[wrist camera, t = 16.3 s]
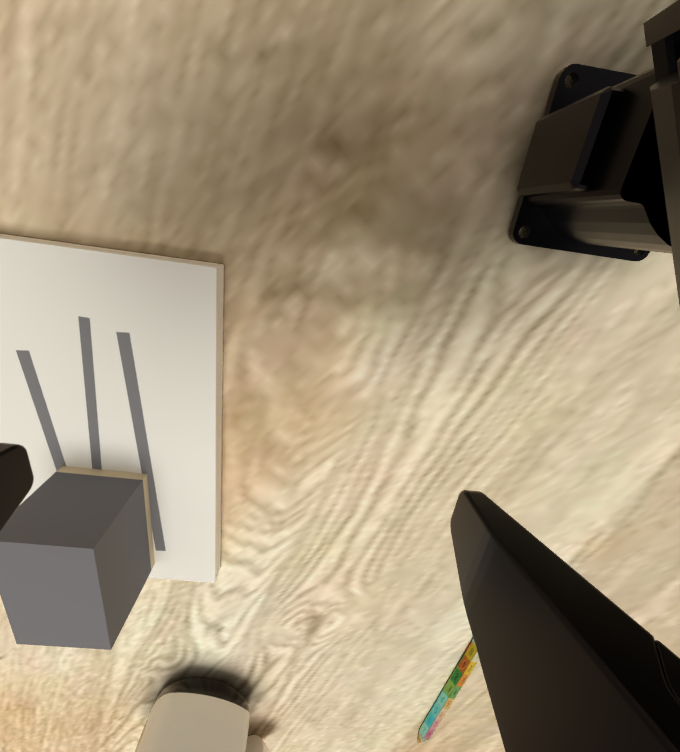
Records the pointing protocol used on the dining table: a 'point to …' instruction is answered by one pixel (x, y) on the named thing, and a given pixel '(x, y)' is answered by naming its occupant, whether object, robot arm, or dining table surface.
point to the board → (120, 381)
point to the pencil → (449, 692)
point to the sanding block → (76, 558)
